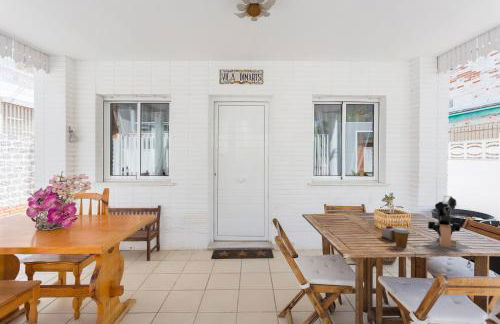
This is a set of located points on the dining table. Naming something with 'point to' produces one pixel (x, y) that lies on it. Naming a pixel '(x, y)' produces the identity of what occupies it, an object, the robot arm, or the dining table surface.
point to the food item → (388, 233)
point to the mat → (458, 246)
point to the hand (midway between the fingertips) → (445, 236)
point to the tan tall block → (445, 236)
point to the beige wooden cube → (453, 242)
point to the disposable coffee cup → (401, 236)
